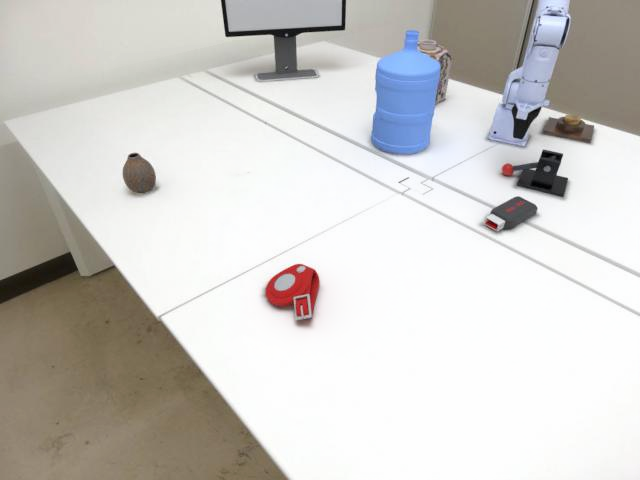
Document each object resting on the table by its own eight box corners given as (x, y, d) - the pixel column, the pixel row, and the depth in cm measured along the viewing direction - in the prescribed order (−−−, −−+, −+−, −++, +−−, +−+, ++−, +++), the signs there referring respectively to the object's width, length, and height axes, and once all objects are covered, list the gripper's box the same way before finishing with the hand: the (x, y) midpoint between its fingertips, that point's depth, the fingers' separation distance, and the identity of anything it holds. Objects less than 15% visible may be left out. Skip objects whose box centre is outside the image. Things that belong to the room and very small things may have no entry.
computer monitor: (231, 83, 159) (214, -52, 134) (230, 75, 165) (213, -56, 140) (345, 75, 165) (349, -56, 140) (339, 67, 171) (343, -59, 146)
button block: (542, 134, 127) (545, 123, 125) (547, 120, 134) (551, 111, 132) (589, 143, 123) (593, 133, 121) (592, 129, 129) (596, 119, 127)
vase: (164, 184, 107) (156, 150, 101) (146, 199, 102) (136, 164, 96) (139, 179, 109) (130, 145, 103) (121, 194, 104) (109, 159, 98)
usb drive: (535, 214, 97) (539, 203, 95) (500, 235, 91) (504, 224, 90) (514, 203, 100) (518, 192, 99) (479, 222, 95) (482, 211, 93)
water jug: (441, 146, 121) (461, 34, 104) (395, 161, 115) (408, 45, 98) (403, 125, 132) (415, 20, 114) (359, 138, 125) (365, 29, 108)
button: (562, 124, 126) (564, 118, 125) (564, 118, 129) (566, 113, 128) (578, 127, 124) (580, 121, 123) (579, 121, 127) (581, 115, 126)
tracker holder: (251, 291, 78) (289, 252, 82) (262, 307, 80) (298, 269, 85) (300, 316, 70) (339, 271, 74) (310, 333, 72) (347, 289, 77)
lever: (501, 178, 109) (499, 167, 108) (504, 173, 111) (501, 162, 110) (556, 170, 102) (553, 159, 101) (557, 165, 104) (555, 153, 103)
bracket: (516, 186, 106) (525, 158, 101) (522, 171, 111) (531, 143, 107) (562, 197, 102) (573, 169, 97) (566, 181, 107) (577, 153, 103)
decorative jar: (395, 100, 146) (401, 41, 135) (414, 90, 153) (421, 33, 142) (427, 110, 140) (437, 49, 129) (446, 99, 147) (456, 40, 136)
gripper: (550, 92, 89) (530, 154, 98) (560, 70, 99) (541, 128, 108) (513, 86, 92) (497, 147, 101) (526, 65, 102) (511, 122, 110)
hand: (518, 137), depth 104 cm, fingers closed
